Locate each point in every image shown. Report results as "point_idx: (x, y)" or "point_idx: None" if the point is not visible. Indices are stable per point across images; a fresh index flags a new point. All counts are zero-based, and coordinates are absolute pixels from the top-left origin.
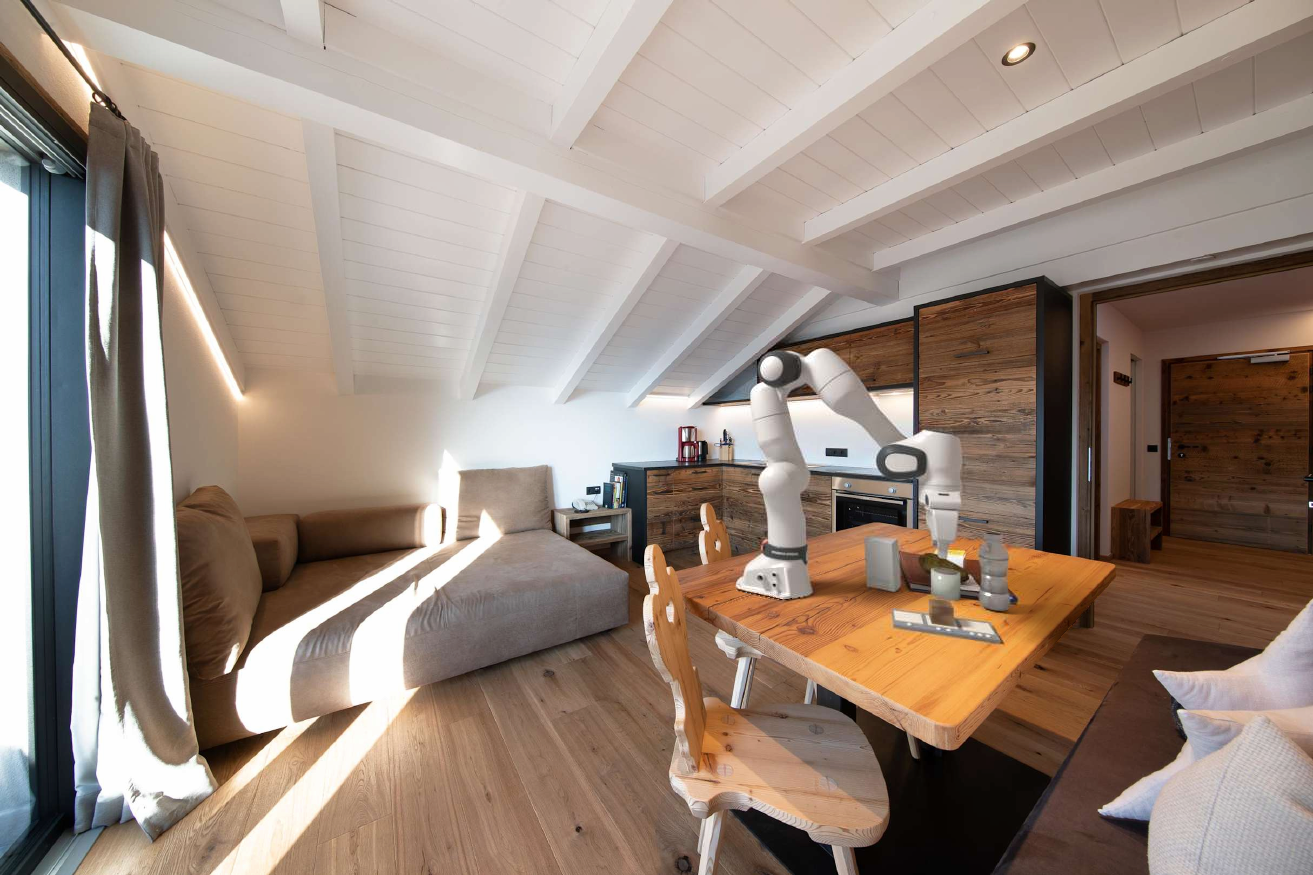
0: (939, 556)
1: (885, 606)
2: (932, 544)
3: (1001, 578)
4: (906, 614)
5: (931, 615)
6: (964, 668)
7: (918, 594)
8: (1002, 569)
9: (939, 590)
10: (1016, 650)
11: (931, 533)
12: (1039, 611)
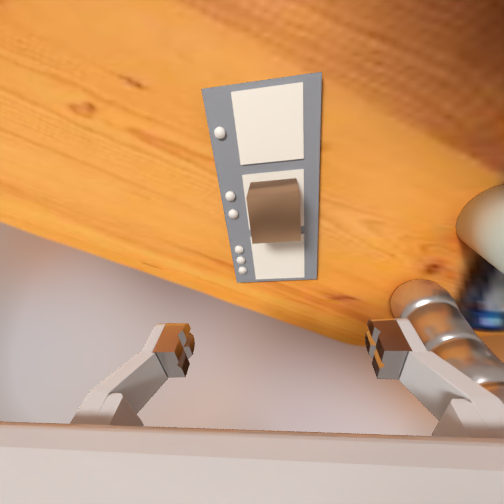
0: (157, 328)
1: (362, 46)
2: (390, 326)
3: None
4: (284, 121)
5: (250, 188)
6: (105, 222)
7: (500, 149)
8: None
9: (484, 211)
10: (225, 292)
11: (459, 389)
12: None
